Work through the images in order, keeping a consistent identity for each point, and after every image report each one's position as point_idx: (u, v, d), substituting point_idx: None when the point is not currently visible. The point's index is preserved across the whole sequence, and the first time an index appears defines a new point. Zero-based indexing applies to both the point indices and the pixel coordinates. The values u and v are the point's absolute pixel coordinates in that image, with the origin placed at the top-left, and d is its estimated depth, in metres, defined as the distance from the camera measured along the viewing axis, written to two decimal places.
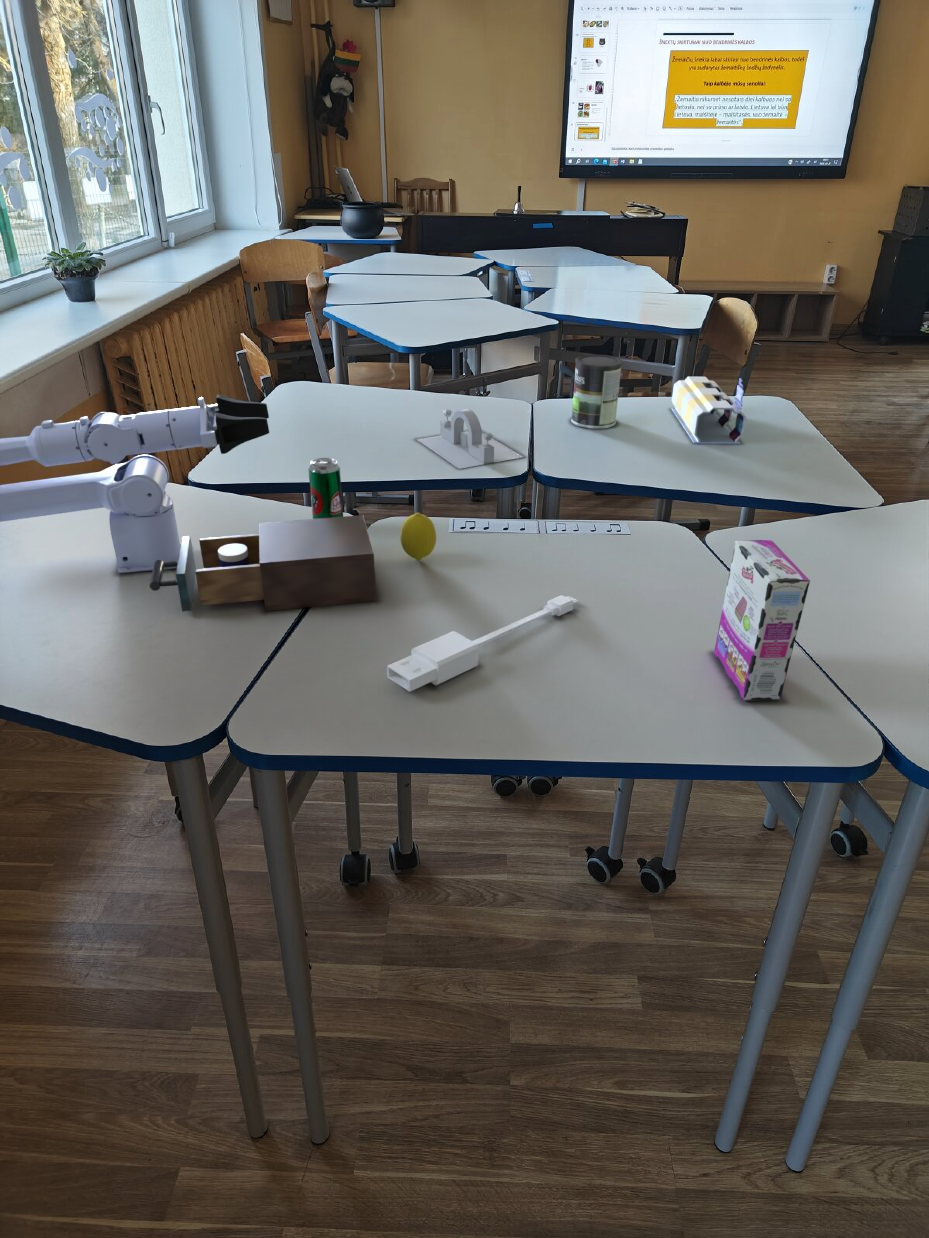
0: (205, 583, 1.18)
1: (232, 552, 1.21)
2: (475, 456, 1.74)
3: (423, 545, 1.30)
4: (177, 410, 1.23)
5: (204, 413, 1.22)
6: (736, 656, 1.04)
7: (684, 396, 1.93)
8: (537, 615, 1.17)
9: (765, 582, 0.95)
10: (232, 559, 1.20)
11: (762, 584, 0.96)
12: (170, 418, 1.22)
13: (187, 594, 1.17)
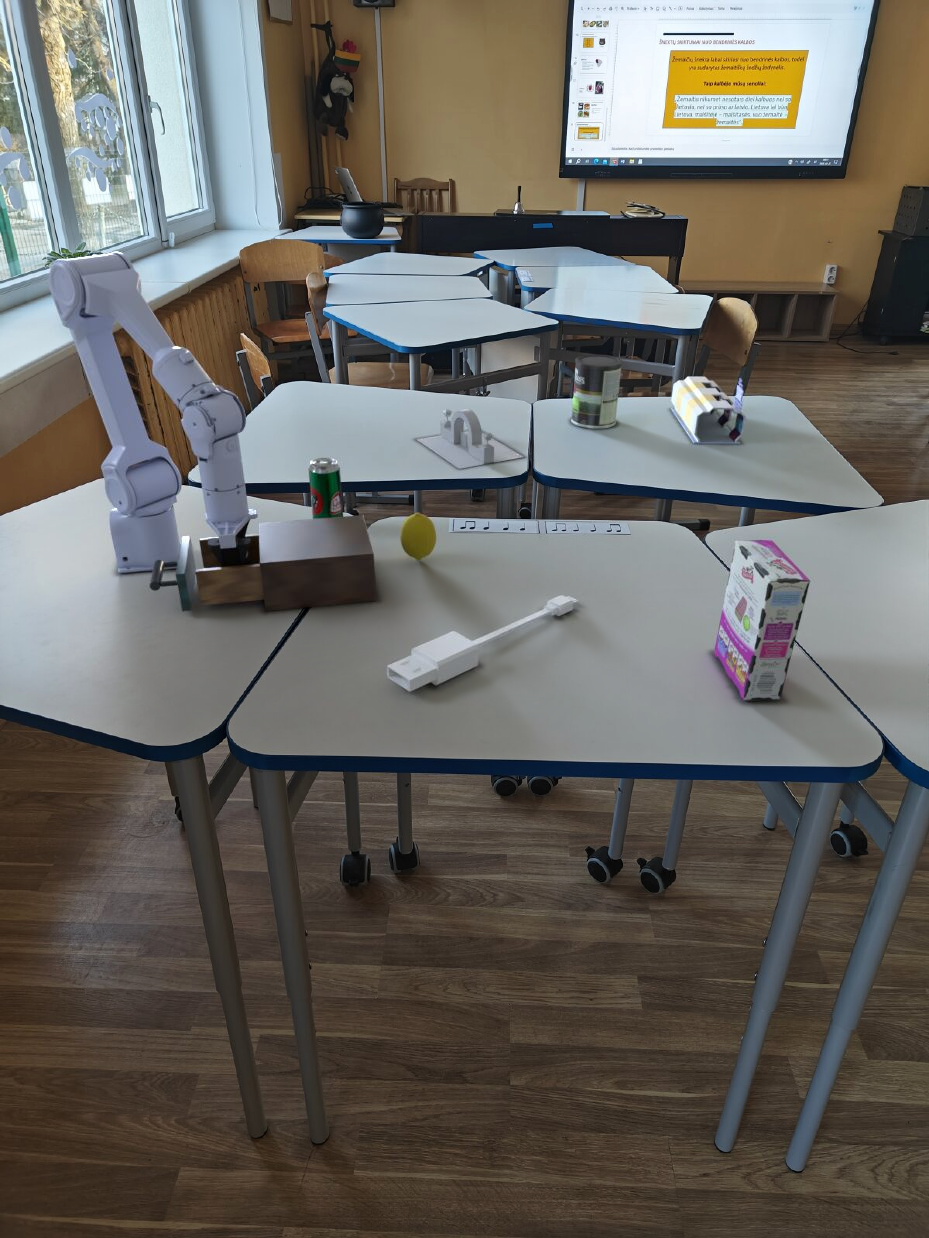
0: (205, 583, 1.18)
1: None
2: (475, 456, 1.74)
3: (423, 545, 1.30)
4: (245, 491, 1.18)
5: (246, 522, 1.18)
6: (736, 656, 1.04)
7: (684, 396, 1.93)
8: (537, 615, 1.17)
9: (765, 582, 0.95)
10: None
11: (762, 584, 0.96)
12: (239, 489, 1.16)
13: (187, 594, 1.17)
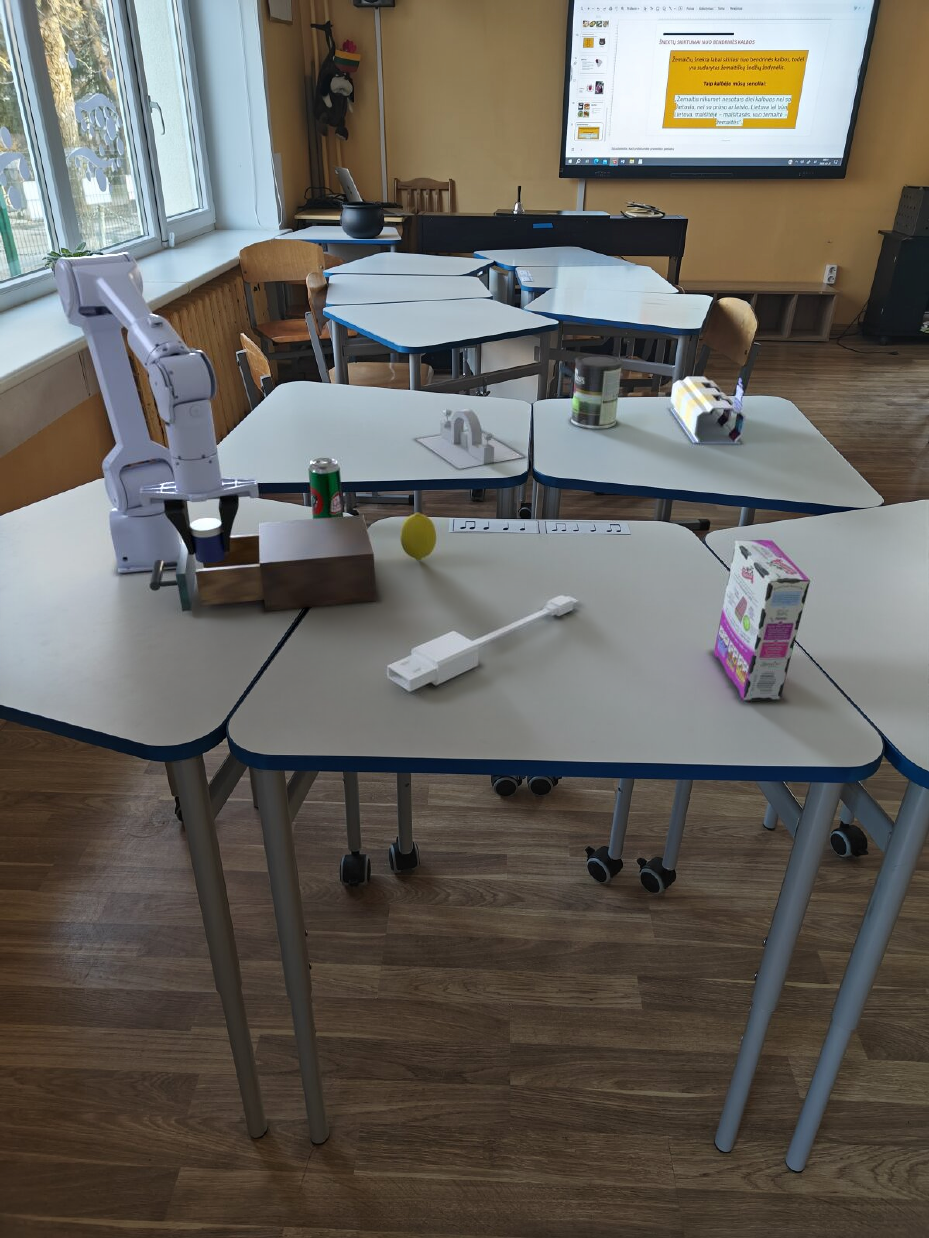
0: (205, 583, 1.18)
1: (197, 524, 1.12)
2: (475, 456, 1.74)
3: (423, 545, 1.30)
4: (191, 469, 1.06)
5: (180, 498, 1.08)
6: (736, 656, 1.04)
7: (683, 396, 1.93)
8: (537, 615, 1.17)
9: (765, 582, 0.95)
10: None
11: (762, 584, 0.96)
12: (178, 461, 1.05)
13: (187, 594, 1.17)
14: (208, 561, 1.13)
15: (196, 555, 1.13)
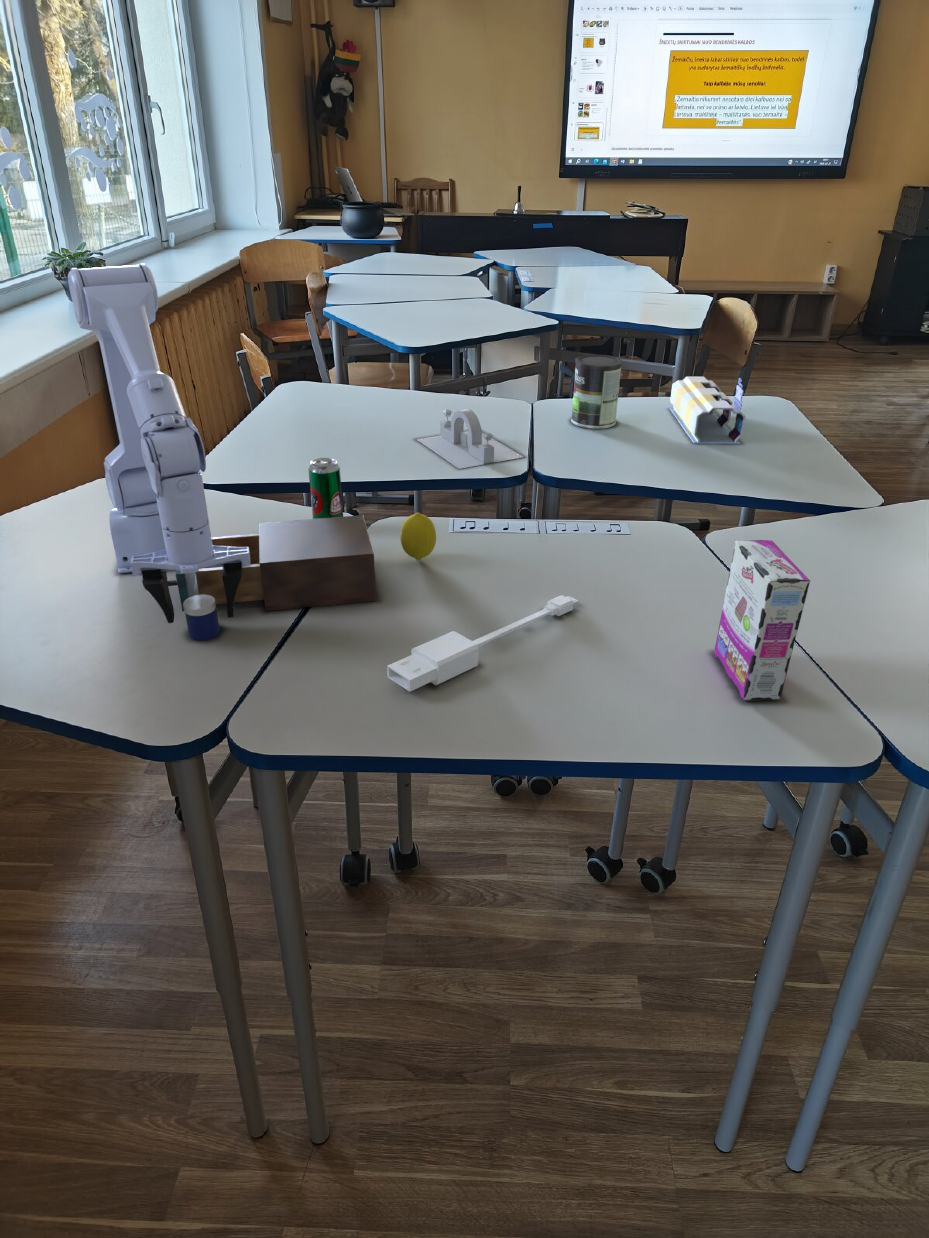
0: (205, 583, 1.18)
1: (191, 602, 1.13)
2: (475, 456, 1.74)
3: (423, 545, 1.30)
4: (182, 541, 1.05)
5: (171, 568, 1.07)
6: (736, 656, 1.04)
7: (683, 396, 1.93)
8: (537, 615, 1.17)
9: (765, 581, 0.95)
10: None
11: (762, 584, 0.96)
12: (168, 532, 1.05)
13: (187, 594, 1.17)
14: (201, 638, 1.13)
15: (189, 632, 1.14)
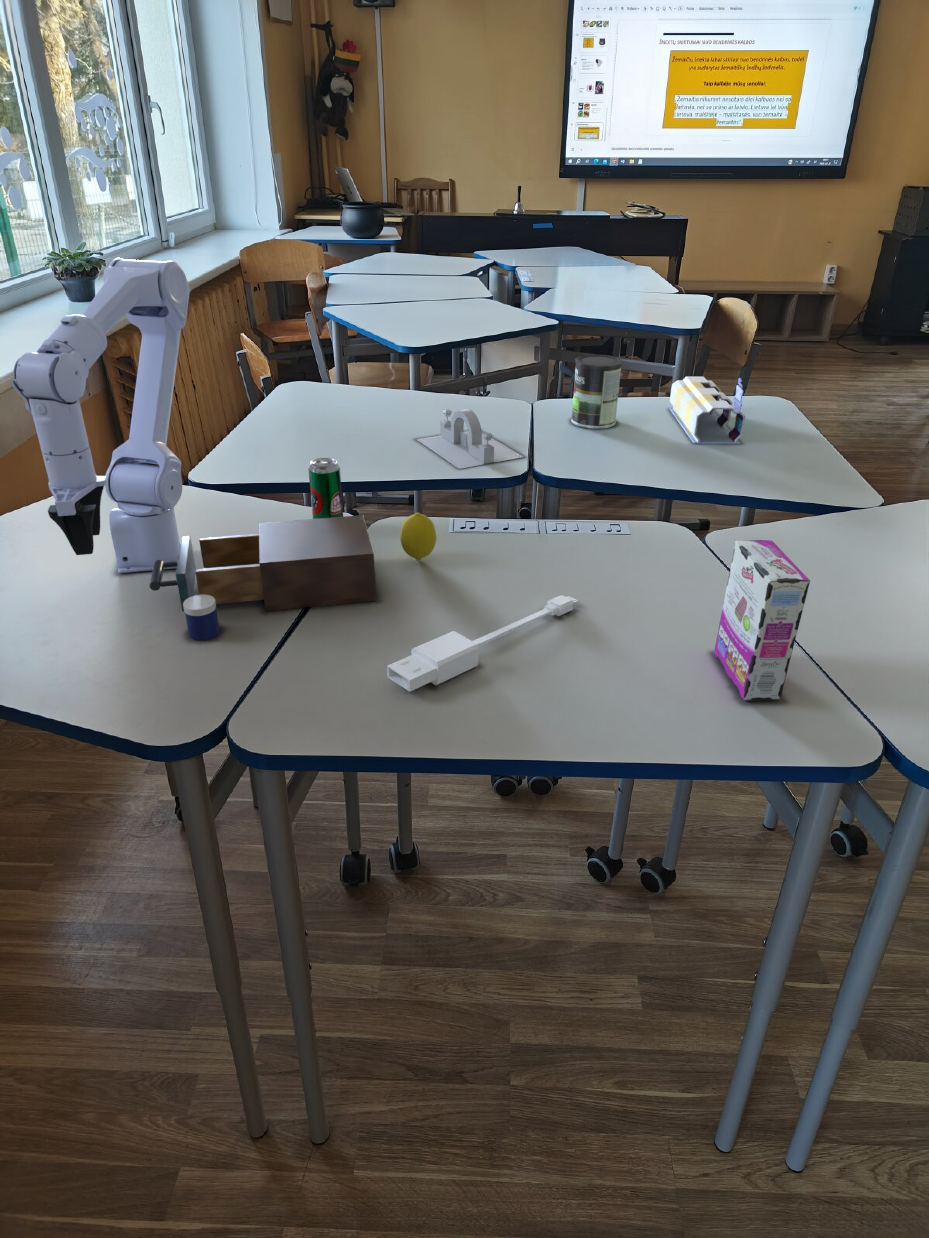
0: (205, 583, 1.18)
1: (191, 602, 1.13)
2: (475, 456, 1.74)
3: (423, 545, 1.30)
4: (90, 456, 1.11)
5: (91, 490, 1.11)
6: (736, 656, 1.04)
7: (683, 396, 1.93)
8: (537, 615, 1.17)
9: (765, 582, 0.95)
10: None
11: (762, 584, 0.96)
12: (81, 453, 1.09)
13: (187, 594, 1.17)
14: (201, 638, 1.13)
15: (189, 632, 1.14)
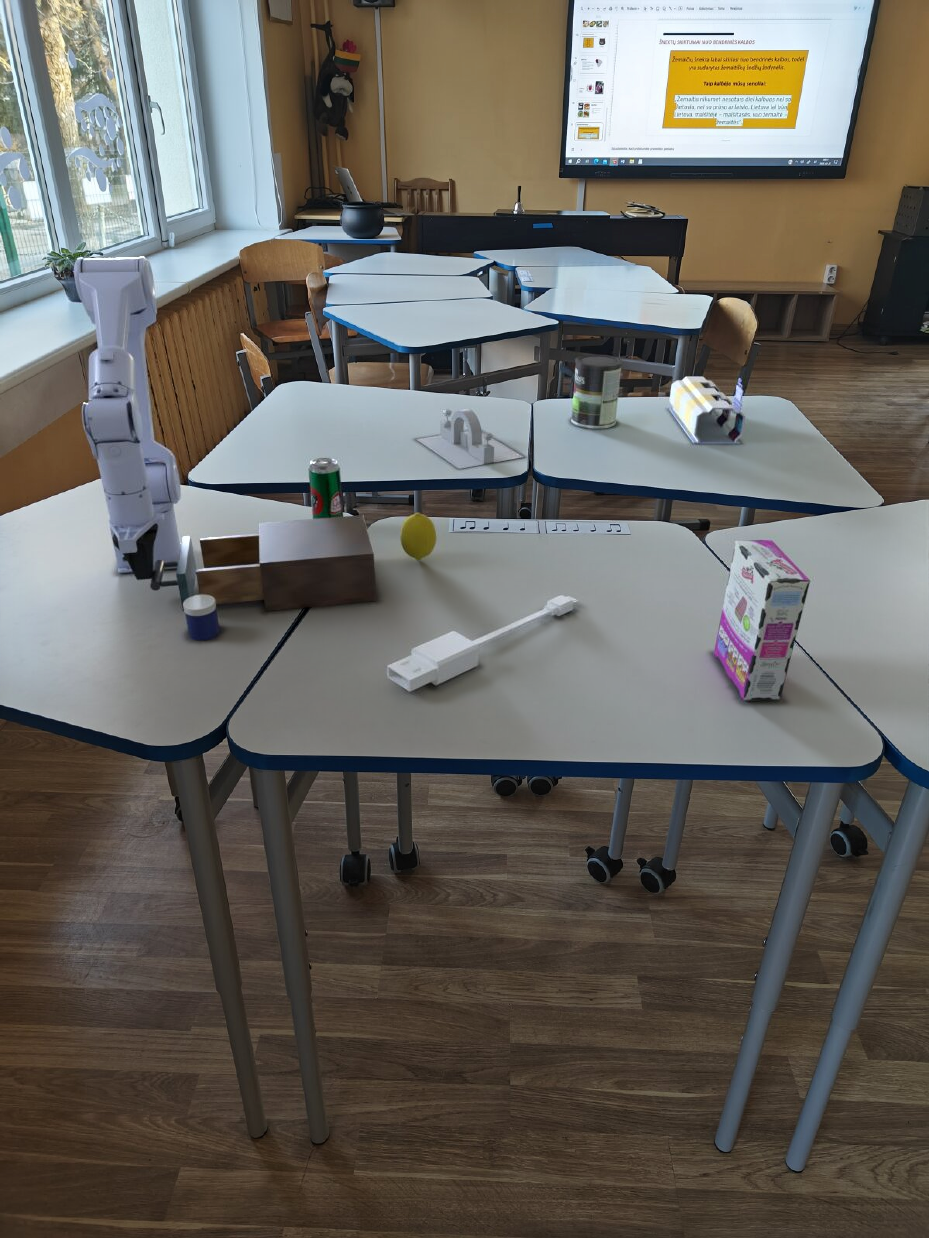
0: (205, 583, 1.18)
1: (191, 602, 1.13)
2: (475, 456, 1.74)
3: (423, 545, 1.30)
4: (149, 495, 1.15)
5: (150, 527, 1.15)
6: (736, 656, 1.04)
7: (683, 396, 1.93)
8: (537, 615, 1.17)
9: (765, 582, 0.95)
10: None
11: (762, 584, 0.96)
12: (142, 492, 1.13)
13: (187, 594, 1.17)
14: (201, 638, 1.13)
15: (189, 632, 1.14)
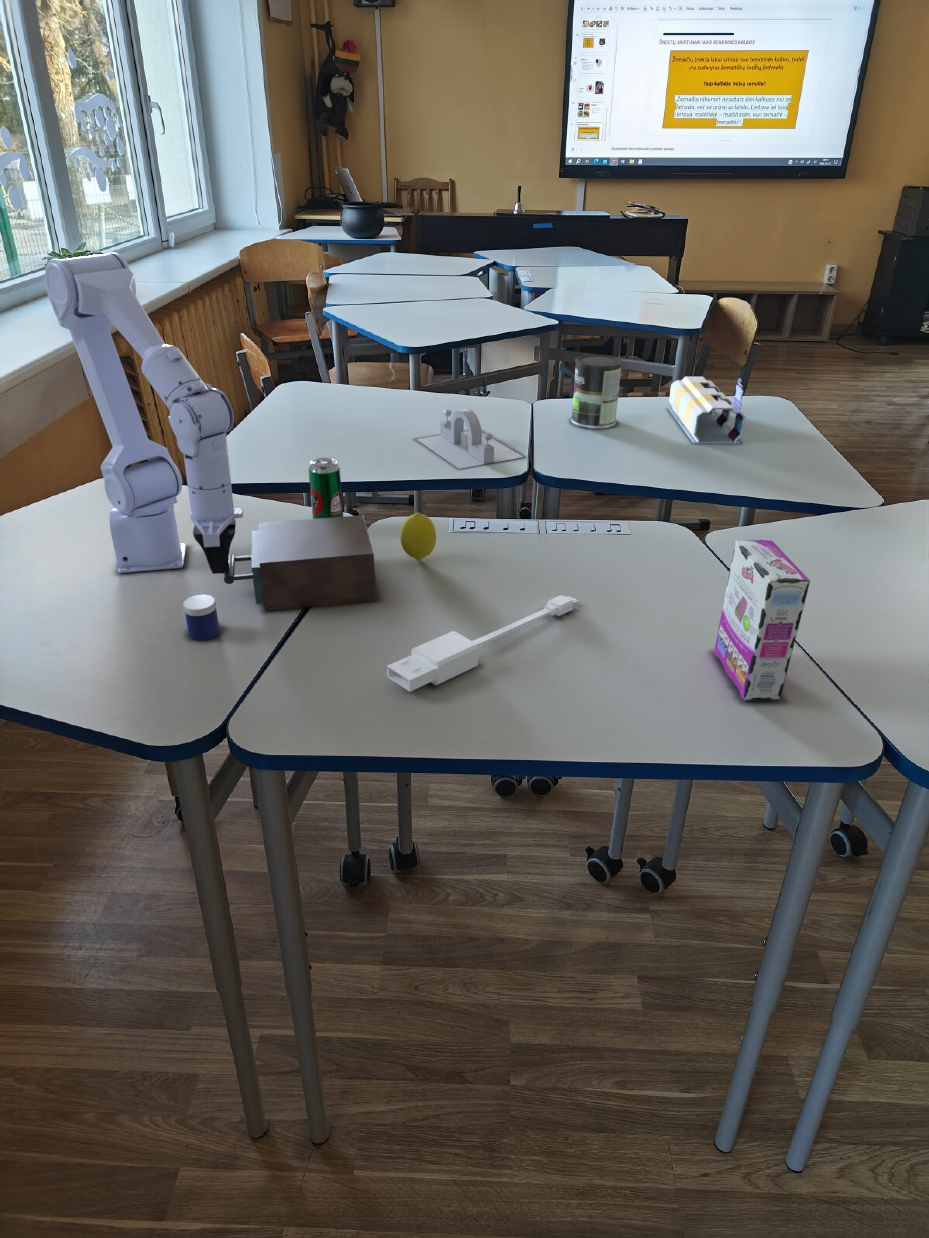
0: None
1: (191, 602, 1.13)
2: (475, 456, 1.74)
3: (423, 545, 1.30)
4: (231, 490, 1.17)
5: (230, 521, 1.17)
6: (736, 656, 1.04)
7: (682, 396, 1.93)
8: (537, 615, 1.17)
9: (765, 582, 0.95)
10: None
11: (762, 584, 0.96)
12: (225, 487, 1.15)
13: (262, 587, 1.19)
14: (201, 638, 1.13)
15: (189, 632, 1.14)
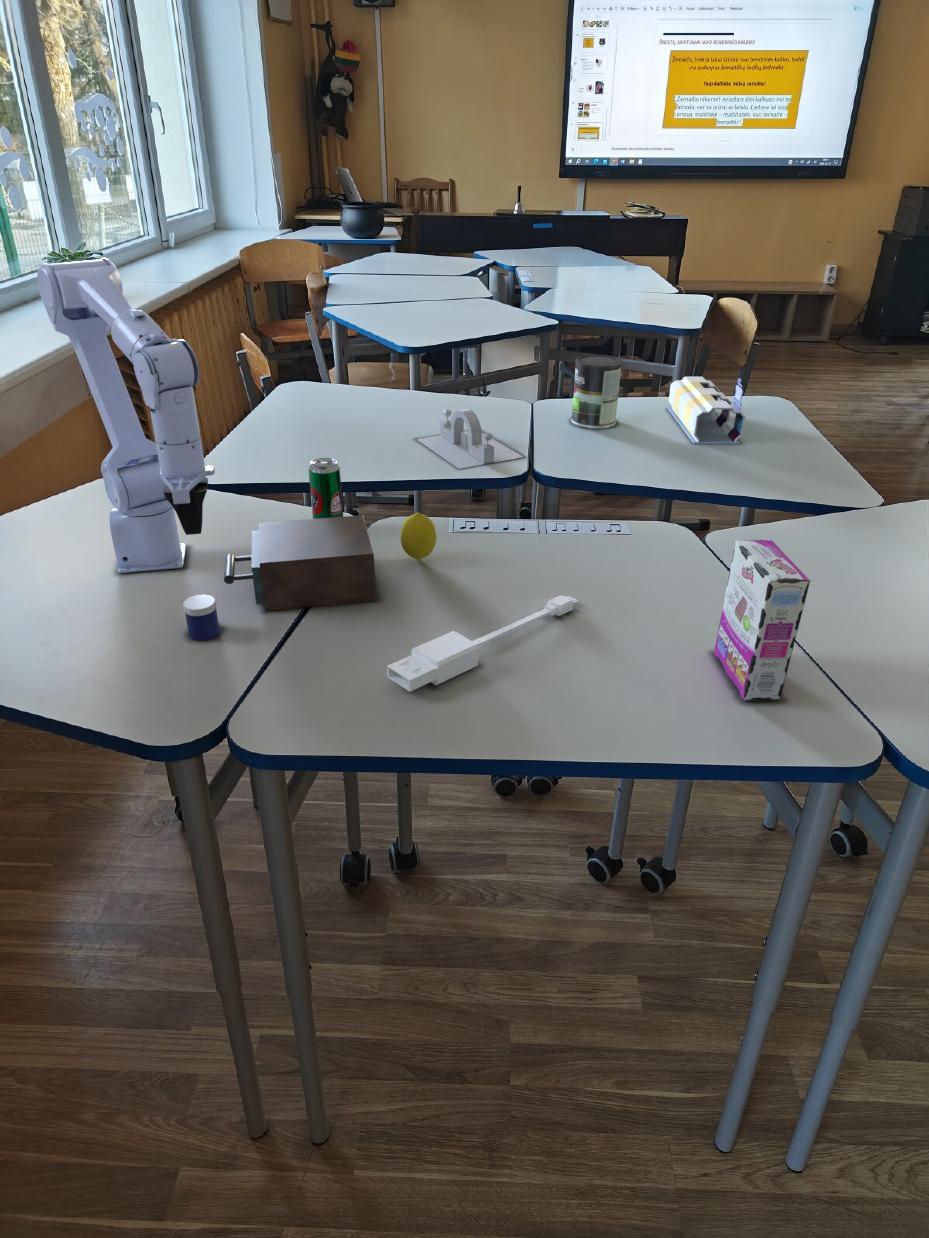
0: None
1: (191, 602, 1.13)
2: (475, 456, 1.74)
3: (423, 545, 1.30)
4: (201, 446, 1.13)
5: (201, 479, 1.14)
6: (736, 656, 1.04)
7: (682, 396, 1.93)
8: (537, 615, 1.17)
9: (765, 582, 0.95)
10: None
11: (762, 584, 0.96)
12: (194, 443, 1.11)
13: (261, 587, 1.19)
14: (201, 638, 1.13)
15: (189, 632, 1.14)
